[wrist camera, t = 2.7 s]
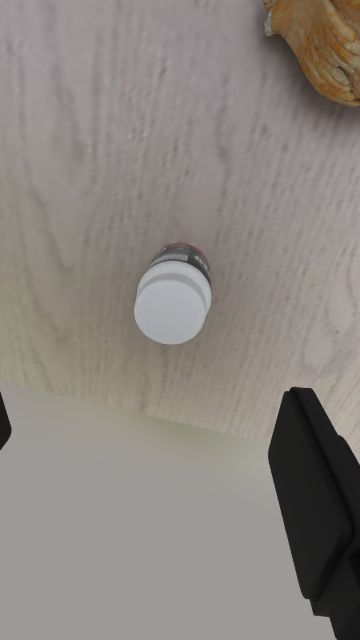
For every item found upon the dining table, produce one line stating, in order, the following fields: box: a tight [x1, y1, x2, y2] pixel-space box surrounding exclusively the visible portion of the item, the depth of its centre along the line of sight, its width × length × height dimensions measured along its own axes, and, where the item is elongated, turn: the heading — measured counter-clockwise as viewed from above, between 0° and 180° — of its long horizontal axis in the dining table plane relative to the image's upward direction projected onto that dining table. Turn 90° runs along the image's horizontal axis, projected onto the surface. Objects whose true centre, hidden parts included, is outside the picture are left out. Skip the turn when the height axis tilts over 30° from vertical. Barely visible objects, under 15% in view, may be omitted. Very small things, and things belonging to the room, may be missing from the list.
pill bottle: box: [134, 243, 212, 344], centre depth 19 cm, size 5×5×8 cm
